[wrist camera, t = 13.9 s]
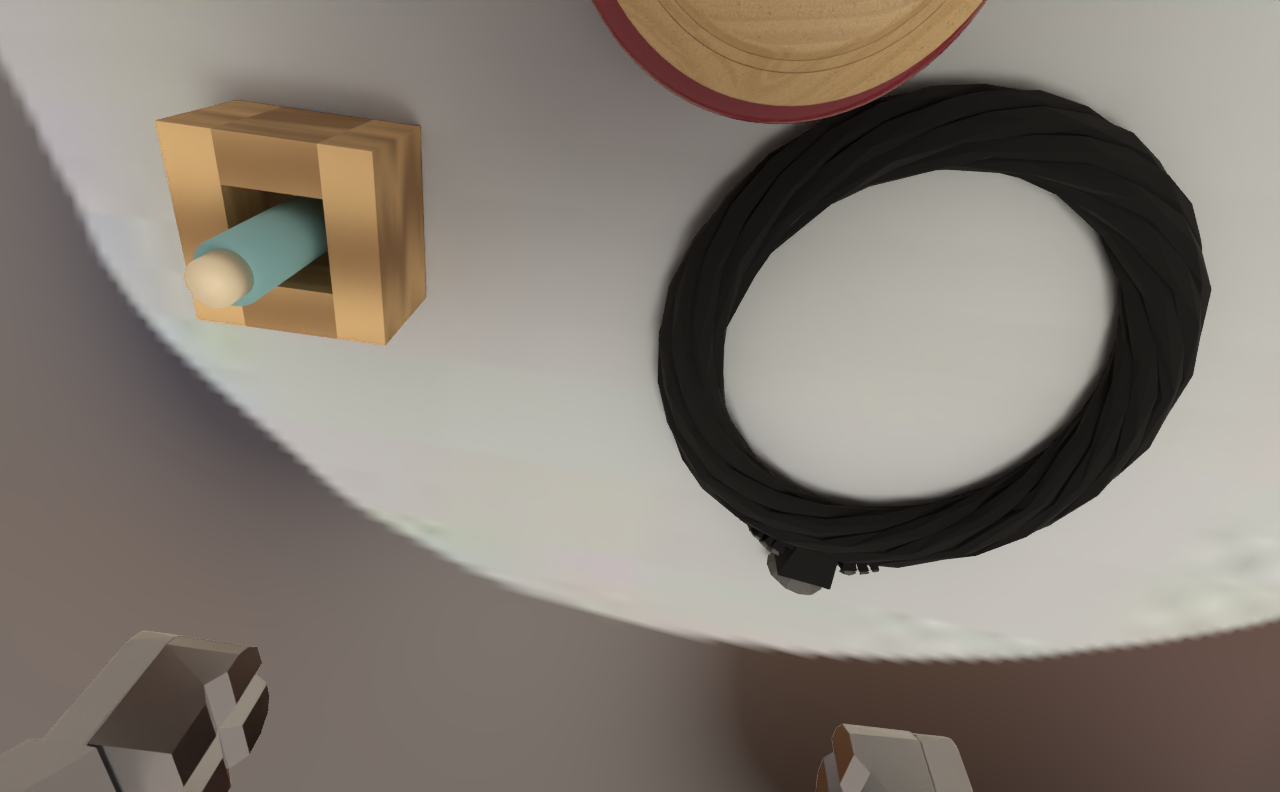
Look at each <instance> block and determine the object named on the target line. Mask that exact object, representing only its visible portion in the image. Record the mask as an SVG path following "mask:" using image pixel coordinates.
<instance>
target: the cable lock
mask: <svg viewBox="0 0 1280 792" xmlns="http://www.w3.org/2000/svg"><path fill="white" fill-rule="evenodd" d="M934 170H962V171H978V172H993V173H1001V174H1006V175H1010V176H1014V177H1018V178H1021V179H1023V180H1025V181H1028V182H1030V183H1032V184H1034V185H1036V186H1038V187H1041V188H1043V189H1045V190H1047V191H1049V192H1052V193H1054V194H1056V195H1058V196H1059V197H1060V198H1061V199H1062V200H1063V201H1064V202H1065V203H1067V204H1068V205H1069V206H1070V207H1071V208H1072V209H1073V210H1074V211H1075V212H1076V213H1077V214H1078V215H1080V216H1081V217H1082V218H1083V219H1084V220H1085V221H1086V222H1087V223H1088V224H1089V225H1090V226H1091V227H1093V228H1094V229H1095V230H1096V231H1097V232H1098V233H1099V235H1100V238H1101V240H1102V243H1103V245H1104V247H1105V250H1106V252H1107V254H1108V257H1109V259H1110V262H1111V264H1112V266H1113V269H1114V271H1115V274H1116V276H1117V278H1118V290H1119V321H1118V330H1117V339H1116V342H1115V345H1114V348H1113V351H1112V353H1111V356H1110V359H1109V362H1108V365H1107V368H1106V370H1105V373H1104V375H1103V377H1102V379H1101V381H1100V383H1099V385H1098V387H1097V389H1096V391H1095V393H1094V394H1093V395H1092V397H1091V398H1090V399H1089V401H1088V402H1087V403H1086V405H1085V406H1084V408H1083V409H1082V410H1081V412H1080V413H1079V414H1078V416H1077V417H1076V418H1075V420H1074V421H1073V422H1072V423H1071V424H1070V425H1069V427H1068V428H1067V429H1066V430H1065V431H1064V432H1063V433H1062V434H1061V435H1060V436H1059V437H1058V439H1057V440H1056V441H1055V442H1054V443H1053V444H1052V445H1051V446H1050V447H1049V448H1048V449H1047V450H1045V451H1043V452H1042V453H1040V454H1039V455H1037V456H1036V457H1034V458H1033V459H1031V460H1030V461H1028V462H1027V463H1025V464H1024V465H1022V466H1021V467H1019V468H1017V469H1016V470H1014V471H1013V472H1011V473H1010V474H1008V475H1007V476H1005V477H1004V478H1002V479H1001V480H999V481H998V482H996V483H994V484H993V485H991V486H989V487H986V488H982V489H979V490H975V491H972V492H969V493H966V494H963V495H960V496H957V497H953V498H950V499H947V500H944V501H941V502H937V503H932V504H928V505H923V506H909V507H885V508H874V507H856V506H844V505H840V504H836V503H833V502H831V501H828V500H826V499H823V498H820V497H818V496H815V495H813V494H810V493H807V492H805V491H802V490H800V489H798V488H796V487H795V486H793V485H791V484H789V483H787V482H786V481H784V480H782V479H780V478H779V477H777V476H775V475H773V474H772V473H771V472H770V471H769V470H768V469H767V468H766V467H765V466H764V465H763V464H762V463H761V462H760V461H759V460H758V459H757V458H756V457H755V455H754V454H753V453H752V451H751V450H750V448H749V447H748V445H747V444H746V442H745V441H744V439H743V438H742V436H741V435H740V433H739V432H738V430H737V429H736V427H735V426H734V425H733V423H732V422H731V420H730V417H729V414H728V412H727V409H726V406H725V394H724V376H723V362H724V343H725V336H726V329H727V326H728V324H729V322H730V321H731V319H732V317H733V315H734V313H735V312H736V310H737V308H738V306H739V304H740V302H741V301H742V299H743V297H744V295H745V293H746V292H747V290H748V288H749V286H750V284H751V282H752V281H753V279H754V277H755V275H756V274H757V273H758V271H759V270H760V268H761V267H762V265H763V264H764V263H765V261H766V260H767V258H768V257H769V255H770V254H771V253H772V252H773V251H774V250H775V249H777V248H778V247H779V246H780V245H782V244H783V243H784V242H785V241H786V240H788V239H789V238H790V237H791V236H793V235H794V234H795V233H796V232H798V231H799V230H800V229H801V228H802V227H804V226H805V225H806V224H807V223H809V222H810V221H811V220H812V219H814V218H815V217H816V216H817V215H818V214H820V213H821V212H822V211H823V210H825V209H826V208H827V207H828V206H830V205H831V204H833V203H835V202H837V201H839V200H841V199H844V198H846V197H848V196H850V195H852V194H854V193H856V192H858V191H861V190H863V189H865V188H867V187H869V186H873V185H877V184H881V183H885V182H889V181H893V180H898V179H902V178H906V177H910V176H914V175H918V174H922V173H926V172H930V171H934ZM1210 293H1211V285H1210V282H1209V278H1208V274H1207V270H1206V266H1205V262H1204V258H1203V254H1202V244H1201V238H1200V234H1199V230H1198V226H1197V222H1196V218H1195V214H1194V210H1193V206H1192V203H1191V202H1190V201H1189V199H1188V198H1187V197H1186V196H1185V195H1184V193H1183V192H1182V191H1181V190H1180V188H1179V187H1178V186H1177V185H1176V183H1175V182H1174V181H1173V180H1172V179H1171V177H1170V176H1169V175H1168V174H1167V173H1166V171H1165V169H1164V168H1163V166H1162V164H1161V162H1160V161H1159V160H1158V159H1157V158H1156V157H1155V155H1154V154H1153V153H1152V152H1151V151H1150V150H1149V149H1148V148H1147V147H1146V146H1145V145H1144V144H1143V143H1142V142H1141V141H1140V139H1139V138H1138V137H1137V136H1136V135H1135V134H1134V133H1132V132H1130V131H1128V130H1125V129H1123V128H1121V127H1118V126H1116V125H1114V124H1112V123H1110V122H1109V121H1107V120H1106V119H1105V118H1103V117H1102V116H1100V115H1099V114H1098V113H1096V112H1095V111H1093V110H1092V109H1091V108H1089V107H1088V106H1085V105H1082V104H1079V103H1076V102H1073V101H1070V100H1067V99H1064V98H1061V97H1059V96H1056V95H1053V94H1050V93H1047V92H1044V91H1041V90H1018V89H1012V88H1007V87H1001V86H995V85H989V84H969V85H949V86H930V87H927V88H924V89H921V90H918V91H915V92H911V93H906V94H901V95H895V96H890V97H884V98H879V99H876V100H873V101H871V102H869V103H867V104H865V105H863V106H860V107H858V108H855V109H853V110H850V111H848V112H844V113H841V114H838V115H835V116H832V117H828V118H826V119H823V120H822V121H820V122H819V123H818V124H816V125H815V126H814V127H812V128H811V129H810V130H808V131H807V132H806V133H804V134H803V135H802V136H800V137H798V138H797V139H795V140H793V141H791V142H790V143H788V144H786V145H784V146H783V147H781V148H779V149H777V150H775V151H774V152H772V153H770V154H769V155H768V156H767V157H766V158H765V159H764V160H763V161H762V162H761V163H760V164H759V165H758V166H757V167H756V168H755V169H754V170H753V171H752V172H751V173H749V174H748V175H747V176H746V177H745V178H744V179H743V180H742V181H741V182H740V183H739V184H738V185H737V186H736V187H735V188H734V189H733V190H732V191H731V192H730V193H729V194H728V195H727V196H726V198H725V199H724V200H723V202H722V203H721V205H720V206H719V208H718V209H717V211H716V212H715V213H714V214H713V216H712V217H711V218H710V219H709V221H708V222H707V223H706V224H705V225H704V227H703V228H702V229H701V230H700V232H699V233H698V234H697V235H696V237H695V238H694V240H693V242H692V244H691V246H690V247H689V249H688V251H687V253H686V255H685V257H684V259H683V261H682V263H681V265H680V266H679V268H678V270H677V272H676V274H675V276H674V278H673V280H672V282H671V284H670V286H669V289H668V294H667V299H666V304H665V310H664V315H663V320H662V325H661V328H660V331H659V358H658V385H659V389H660V393H661V398H662V402H663V406H664V411H665V415H666V419H667V423H668V425H669V427H670V429H671V431H672V433H673V435H674V438H675V441H676V443H677V446H678V449H679V452H680V454H681V457H682V460H683V461H684V463H685V464H686V465H687V467H688V468H689V470H690V471H691V473H692V474H693V476H694V477H695V479H696V480H697V481H698V483H699V484H700V486H701V487H702V489H704V490H705V491H706V492H707V493H708V494H710V495H711V496H712V497H713V498H714V499H716V500H717V501H718V502H719V503H720V504H722V505H723V506H724V507H725V508H727V509H728V510H729V511H730V512H731V513H733V514H734V515H735V516H736V517H738V518H739V519H740V520H741V521H743V522H744V523H746V524H747V525H748V527H749V531H750V532H751V533H752V535H753V536H754V537H755V538H757V539H758V540H759V542H760V543H761V544H762V545H763V546H764V547H765V548H766V549H768V550H769V551H770V552H772V553H771V554H769V555H768V560H767V565H768V568H769V571H770V573H771V575H772V576H773V577H774V578H775V579H776V580H777V581H778V582H779V583H780V584H781V585H783V586H784V587H785V588H786V589H789V590H791V591H793V592H795V593H798V594H804V595H812V594H814V593H815V592H817V591H819V590H820V589H821V587H823V588H826V589H830V588H831V584H832V580H833V577H834V573H835V570H836V566H837V565H838V566H839V567H840V568H841V570H840V571H839V572H841V573H843V574H846V575H853V574H855V573H856V572H855V571H857V570H859V572H860V575H861V574H868V573H869V572H868V571H869V569H868V567H867V565H869V566H870V567H871V568H870V569H871V570H872V572H878V571H879V568H878V566H884V567H894V568H900V567H905V566H911V565H917V564H922V563H928V562H934V561H939V560H944V559H952V558H961V557H970V556H977V555H979V554H982V553H985V552H987V551H990V550H993V549H995V548H998V547H1001V546H1003V545H1006V544H1009V543H1011V542H1014V541H1017V540H1019V539H1022V538H1025V537H1027V536H1028V535H1030V534H1032V533H1033V532H1035V531H1037V530H1040V529H1042V528H1044V527H1047V526H1049V525H1051V524H1053V523H1054V522H1056V521H1057V520H1059V519H1061V518H1062V517H1064V516H1066V515H1067V514H1069V513H1070V512H1072V511H1074V510H1075V509H1077V508H1078V507H1080V506H1082V505H1083V504H1085V503H1087V502H1088V501H1090V500H1091V499H1093V498H1095V497H1096V496H1098V495H1099V494H1100V493H1101V491H1102V490H1103V489H1104V488H1105V487H1106V486H1107V485H1108V484H1109V483H1110V482H1111V481H1112V479H1114V478H1115V477H1117V476H1118V475H1119V474H1120V473H1121V472H1123V471H1124V470H1125V469H1126V468H1127V467H1128V466H1129V465H1131V464H1132V463H1133V462H1134V461H1135V460H1136V459H1137V458H1138V457H1140V456H1141V455H1142V454H1143V453H1144V452H1145V451H1146V450H1147V449H1149V448H1150V446H1151V444H1152V442H1153V440H1154V439H1155V437H1156V435H1157V433H1158V431H1159V430H1160V428H1161V426H1162V424H1163V422H1164V421H1165V419H1166V417H1167V415H1168V413H1169V412H1170V410H1171V409H1172V407H1173V406H1174V404H1175V403H1176V401H1177V400H1178V398H1179V396H1180V395H1181V393H1182V392H1183V390H1184V389H1185V387H1186V385H1187V384H1188V382H1189V381H1190V379H1191V378H1192V376H1193V372H1194V367H1195V362H1196V356H1197V351H1198V346H1199V341H1200V336H1201V332H1202V328H1203V324H1204V320H1205V315H1206V311H1207V306H1208V302H1209V298H1210ZM856 564H857V567H858V569H856Z"/></svg>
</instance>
